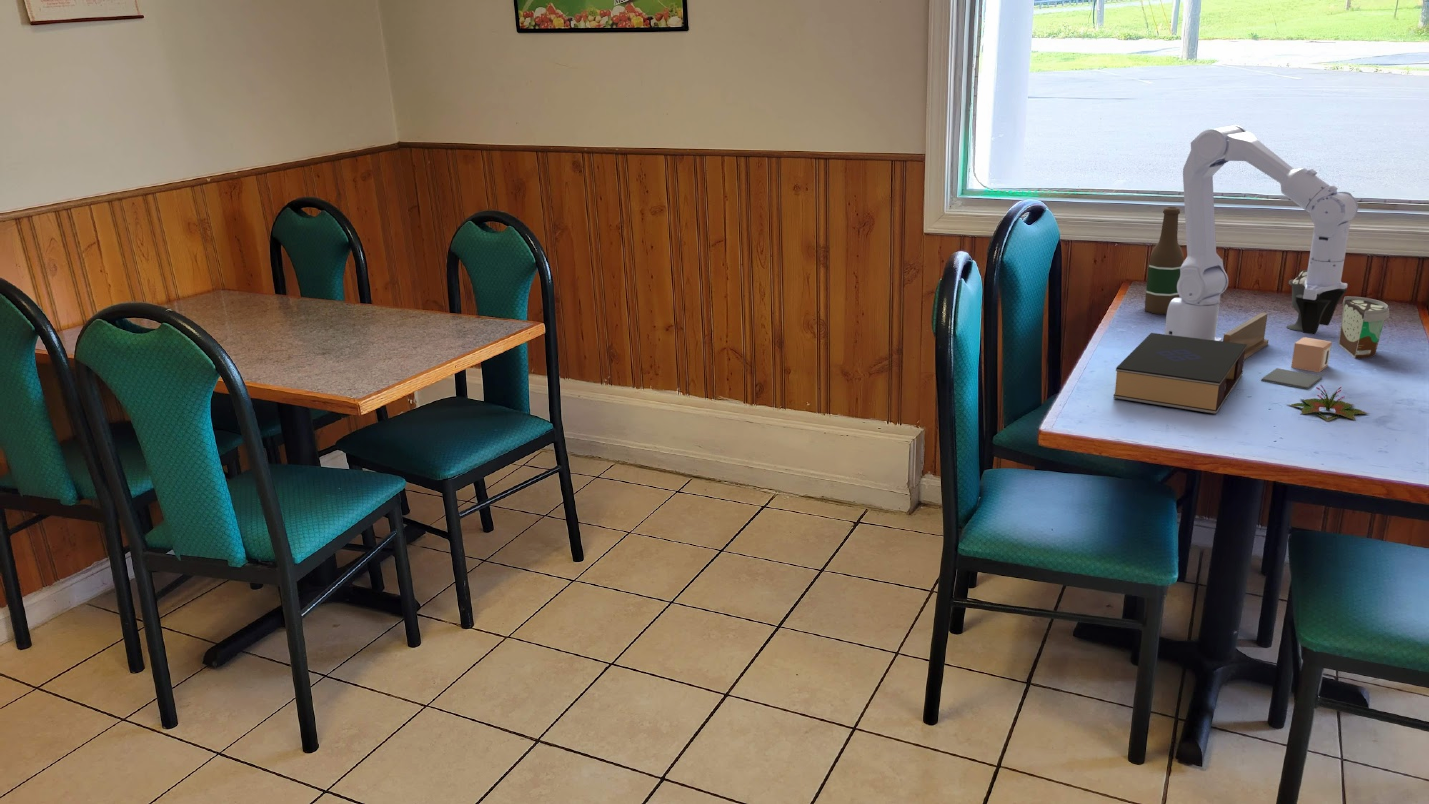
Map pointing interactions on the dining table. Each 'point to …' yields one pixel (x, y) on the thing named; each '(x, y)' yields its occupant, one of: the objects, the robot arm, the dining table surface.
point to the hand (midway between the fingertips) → (1315, 328)
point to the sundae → (1296, 290)
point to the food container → (1362, 325)
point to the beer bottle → (1164, 266)
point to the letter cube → (1311, 354)
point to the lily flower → (1328, 406)
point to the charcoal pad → (1291, 378)
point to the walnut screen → (1249, 334)
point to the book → (1180, 372)
